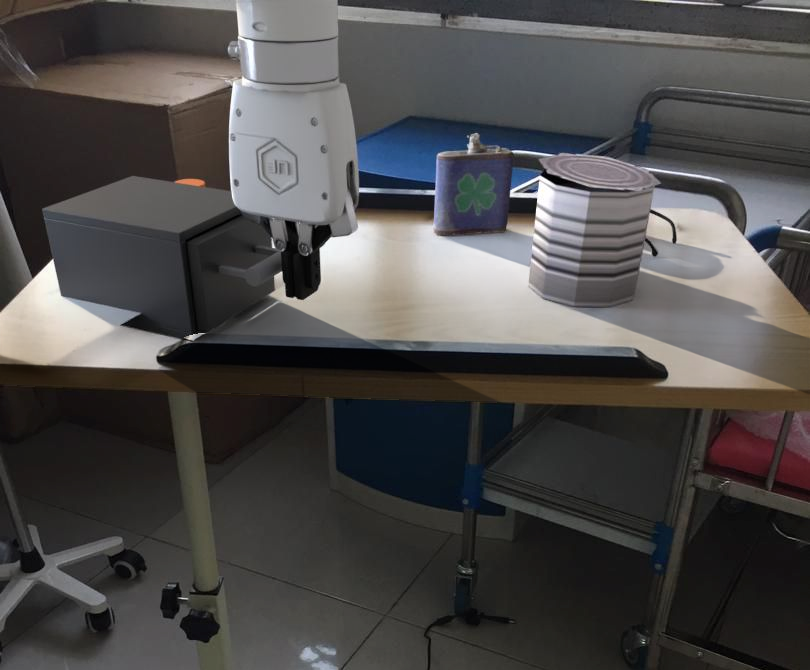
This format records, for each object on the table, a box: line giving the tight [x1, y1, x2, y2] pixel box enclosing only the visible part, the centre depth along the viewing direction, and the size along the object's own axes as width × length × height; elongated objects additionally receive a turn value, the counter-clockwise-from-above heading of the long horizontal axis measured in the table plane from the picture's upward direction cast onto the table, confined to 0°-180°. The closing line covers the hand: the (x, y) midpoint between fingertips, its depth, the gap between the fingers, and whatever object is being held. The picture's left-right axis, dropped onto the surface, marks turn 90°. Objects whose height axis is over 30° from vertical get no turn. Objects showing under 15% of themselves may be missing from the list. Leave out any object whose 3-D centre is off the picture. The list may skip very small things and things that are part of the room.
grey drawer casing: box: [41, 175, 241, 340], centre depth 83 cm, size 15×13×10 cm
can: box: [527, 152, 662, 308], centre depth 88 cm, size 11×11×12 cm
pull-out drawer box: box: [185, 214, 282, 333], centre depth 82 cm, size 18×11×8 cm, turn 66°
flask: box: [432, 132, 515, 237], centre depth 103 cm, size 9×3×11 cm, turn 105°
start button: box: [174, 178, 206, 187], centre depth 102 cm, size 4×4×2 cm
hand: (302, 293), depth 79 cm, fingers closed
